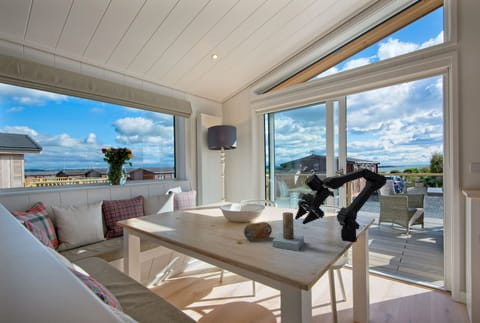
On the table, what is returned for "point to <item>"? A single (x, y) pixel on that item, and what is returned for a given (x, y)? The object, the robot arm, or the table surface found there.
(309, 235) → the table surface
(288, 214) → the walnut column
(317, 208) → the robot arm
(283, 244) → the slate plinth
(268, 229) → the tin
